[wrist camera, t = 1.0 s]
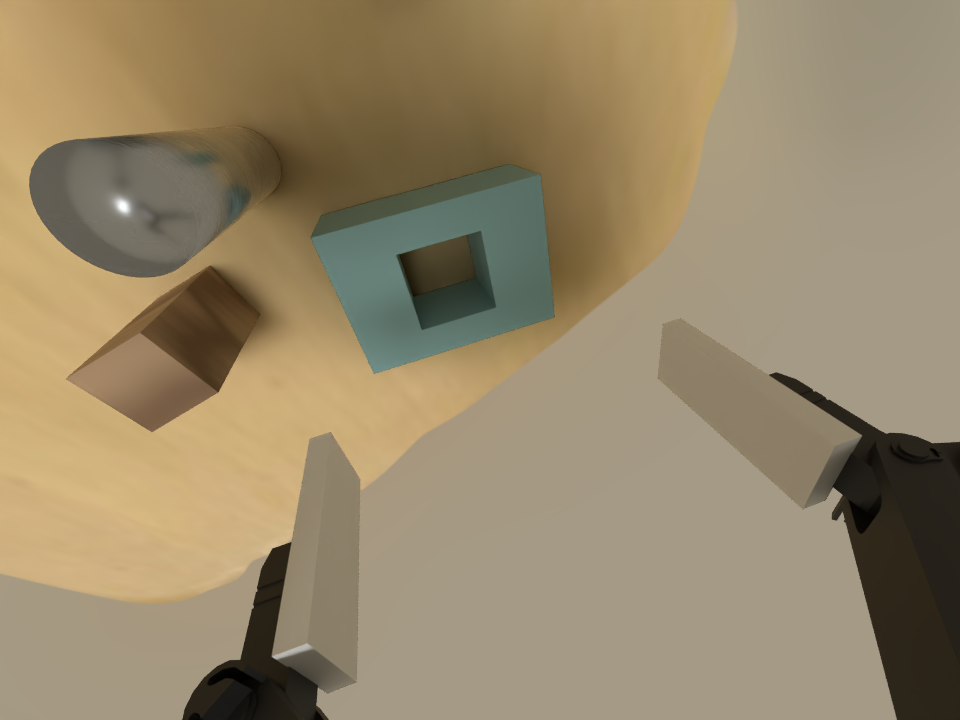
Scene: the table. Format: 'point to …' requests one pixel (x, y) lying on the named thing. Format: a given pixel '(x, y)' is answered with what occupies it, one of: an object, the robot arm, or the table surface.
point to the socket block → (429, 220)
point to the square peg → (171, 352)
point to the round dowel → (151, 194)
